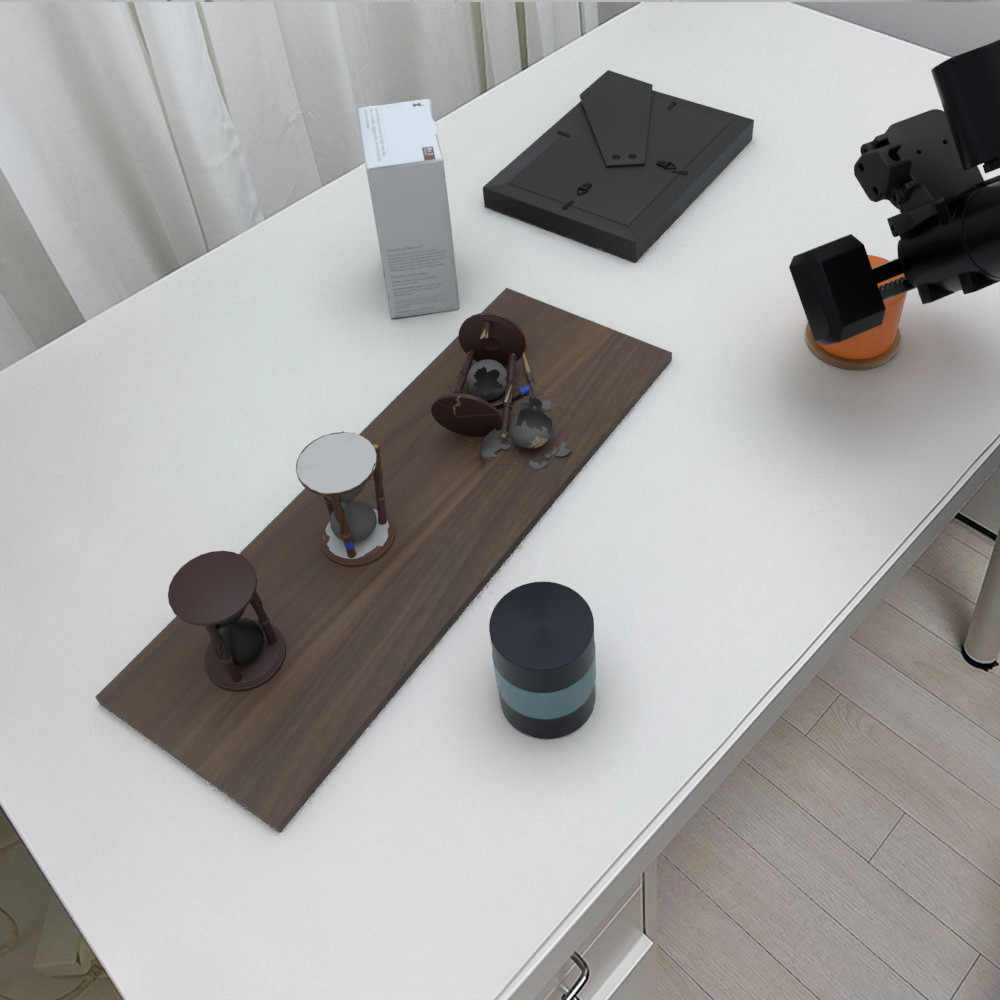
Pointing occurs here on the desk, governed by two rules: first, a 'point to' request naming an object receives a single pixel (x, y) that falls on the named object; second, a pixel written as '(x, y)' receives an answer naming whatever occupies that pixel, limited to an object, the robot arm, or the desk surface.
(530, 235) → the desk surface
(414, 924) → the desk surface
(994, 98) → the robot arm
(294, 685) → the hourglass set
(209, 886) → the desk surface
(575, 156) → the picture frame
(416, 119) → the cosmetic box
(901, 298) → the cap
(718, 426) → the desk surface
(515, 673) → the navy teal banded cylinder
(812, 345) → the coaster
